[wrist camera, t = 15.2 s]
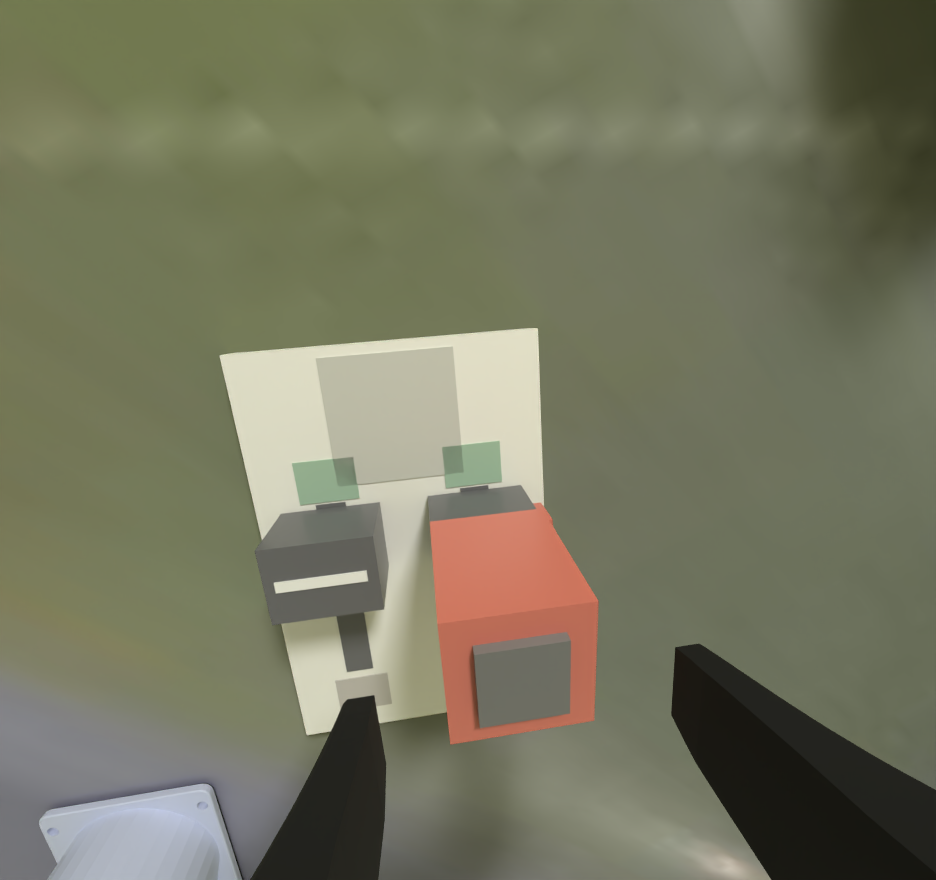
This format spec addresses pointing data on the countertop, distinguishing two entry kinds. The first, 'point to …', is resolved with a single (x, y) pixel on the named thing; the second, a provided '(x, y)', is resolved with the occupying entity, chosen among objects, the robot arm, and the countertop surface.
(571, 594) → the cap
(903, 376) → the countertop surface
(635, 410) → the countertop surface
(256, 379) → the board
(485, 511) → the breaker
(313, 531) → the block
